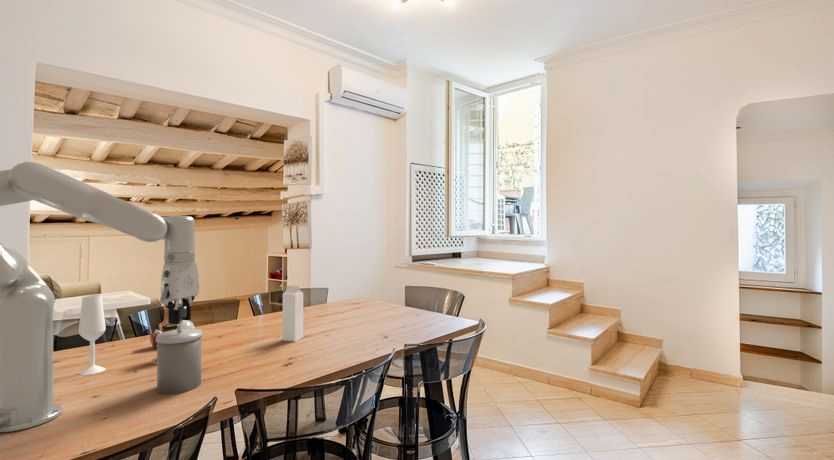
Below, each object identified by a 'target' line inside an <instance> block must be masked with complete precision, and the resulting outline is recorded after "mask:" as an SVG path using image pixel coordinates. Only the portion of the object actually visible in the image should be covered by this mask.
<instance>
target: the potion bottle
mask: <svg viewBox="0 0 834 460" xmlns="http://www.w3.org/2000/svg"><path fill="white" fill-rule="evenodd" d="M182 329H196V326H195V325H194V323H193V322H192V321H191V320H182ZM160 333H162V331H161V330H158V329H155V331H154V332H149V341H150V344H151V346H152V348H153V349H154V348H156V347H157V342H156V336H157V335H158V334H160Z"/></svg>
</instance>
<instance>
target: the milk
mask: <svg viewBox="0 0 834 460" xmlns="http://www.w3.org/2000/svg"><path fill="white" fill-rule="evenodd" d="M303 338H304V292H303V291H301V290H300V285H286V290H285V291H284V292H283V293H282V341H288V342H297V341H299V340H302V339H303Z"/></svg>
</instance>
